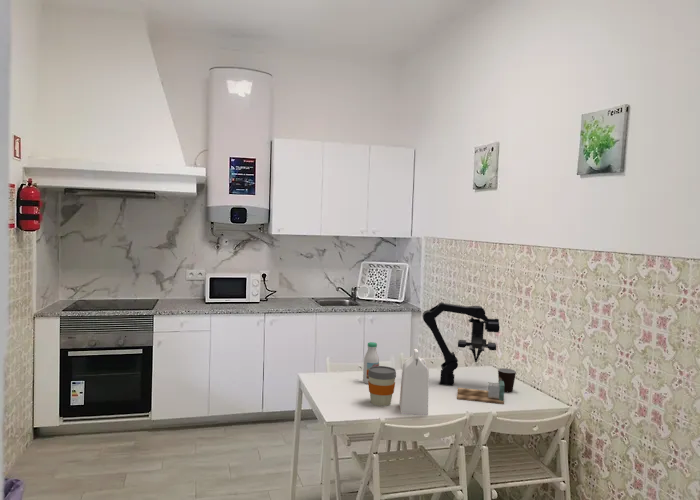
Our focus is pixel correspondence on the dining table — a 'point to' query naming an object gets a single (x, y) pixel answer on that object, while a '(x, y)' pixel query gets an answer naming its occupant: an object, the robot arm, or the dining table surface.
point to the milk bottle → (370, 360)
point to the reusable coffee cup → (381, 384)
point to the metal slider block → (493, 390)
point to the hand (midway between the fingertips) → (475, 361)
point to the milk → (414, 386)
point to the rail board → (481, 399)
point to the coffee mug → (507, 378)
